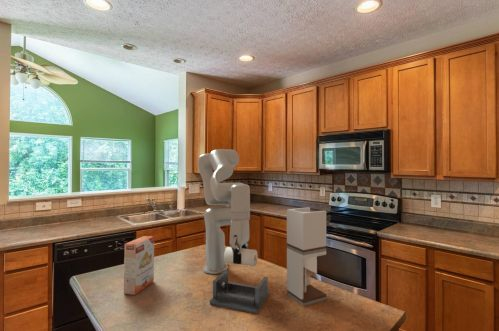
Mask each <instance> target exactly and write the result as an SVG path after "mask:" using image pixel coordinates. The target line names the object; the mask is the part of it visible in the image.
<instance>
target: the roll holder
mask: <svg viewBox="0 0 499 331" xmlns="http://www.w3.org/2000/svg"><path fill="white" fill-rule="evenodd" d="M268 283H269V278H268V276H263V277H262V279H261V280H260V281H259V283H258V284H257V285H256V286H255V285H250V284H243V283H238V282H232V281H229V270H227V271H224V272H223V273H220V274H219V275H218V276H217V277H216V278H215V279H213V280H212V298H211V299H210V300H209V305H210V306H214V307H215V306H216V307H222V308H225V309H229V310H236V311H240V312H245V313H250V314H254V315H257V314H258V313H259V312H260V310H261V309H262V307H263V305H264V303H265V302H266V301H267V300H268V298H269V297H270V294H271V293H270V292H271V291H270V290H269V286H268V285H269V284H268Z"/></svg>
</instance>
